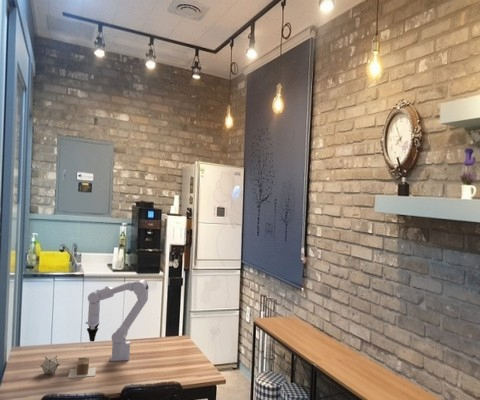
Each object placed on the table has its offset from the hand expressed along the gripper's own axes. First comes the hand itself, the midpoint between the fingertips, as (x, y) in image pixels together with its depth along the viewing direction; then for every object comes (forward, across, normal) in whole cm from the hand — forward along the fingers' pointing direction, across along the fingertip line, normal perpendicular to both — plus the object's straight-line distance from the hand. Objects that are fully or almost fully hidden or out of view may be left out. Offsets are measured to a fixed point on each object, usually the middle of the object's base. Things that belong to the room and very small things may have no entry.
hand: (92, 338), depth 213 cm
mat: (+10, +20, -3) cm, 23 cm away
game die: (+10, +18, -18) cm, 27 cm away
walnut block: (+7, +14, -3) cm, 16 cm away
